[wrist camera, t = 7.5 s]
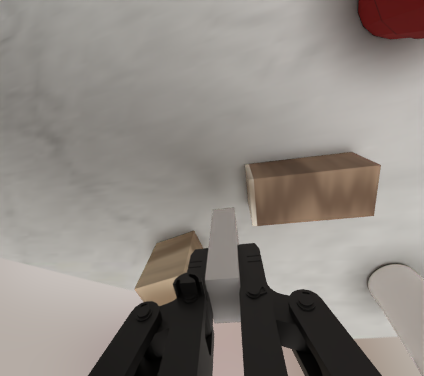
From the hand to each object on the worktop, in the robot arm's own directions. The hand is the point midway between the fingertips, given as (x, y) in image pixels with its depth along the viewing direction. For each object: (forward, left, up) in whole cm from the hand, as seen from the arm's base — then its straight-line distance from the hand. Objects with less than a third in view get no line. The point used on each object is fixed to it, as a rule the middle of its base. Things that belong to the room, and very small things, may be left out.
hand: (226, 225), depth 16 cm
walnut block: (0, +2, -6) cm, 6 cm away
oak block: (+8, -6, -8) cm, 13 cm away
